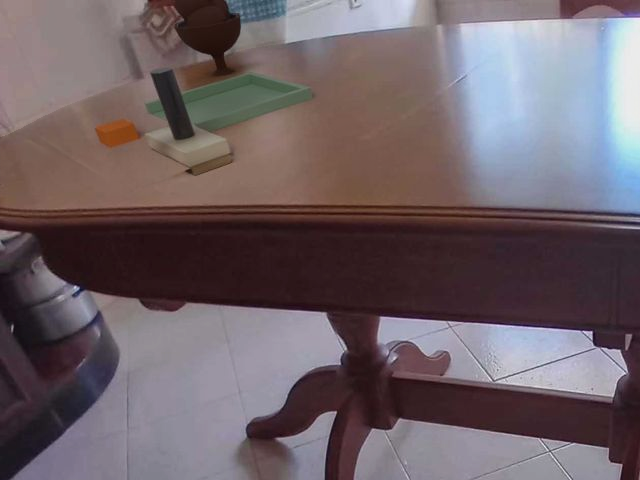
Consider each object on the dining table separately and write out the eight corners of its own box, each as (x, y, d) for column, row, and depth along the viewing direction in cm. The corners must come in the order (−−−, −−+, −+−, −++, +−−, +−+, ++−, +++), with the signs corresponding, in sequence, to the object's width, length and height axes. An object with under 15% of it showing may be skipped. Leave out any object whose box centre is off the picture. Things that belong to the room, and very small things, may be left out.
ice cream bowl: (248, 84, 118) (219, -15, 109) (183, 90, 118) (150, -8, 110) (264, 67, 126) (238, -26, 118) (203, 73, 127) (174, -19, 118)
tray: (150, 119, 106) (144, 102, 105) (255, 87, 116) (251, 71, 114) (203, 141, 95) (197, 123, 94) (314, 104, 105) (310, 87, 103)
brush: (153, 156, 92) (119, 69, 86) (191, 143, 95) (161, 58, 89) (193, 176, 85) (160, 83, 78) (234, 162, 87) (205, 71, 81)
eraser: (103, 148, 97) (93, 127, 95) (131, 139, 99) (122, 118, 97) (113, 154, 94) (104, 132, 93) (142, 145, 96) (133, 123, 95)
